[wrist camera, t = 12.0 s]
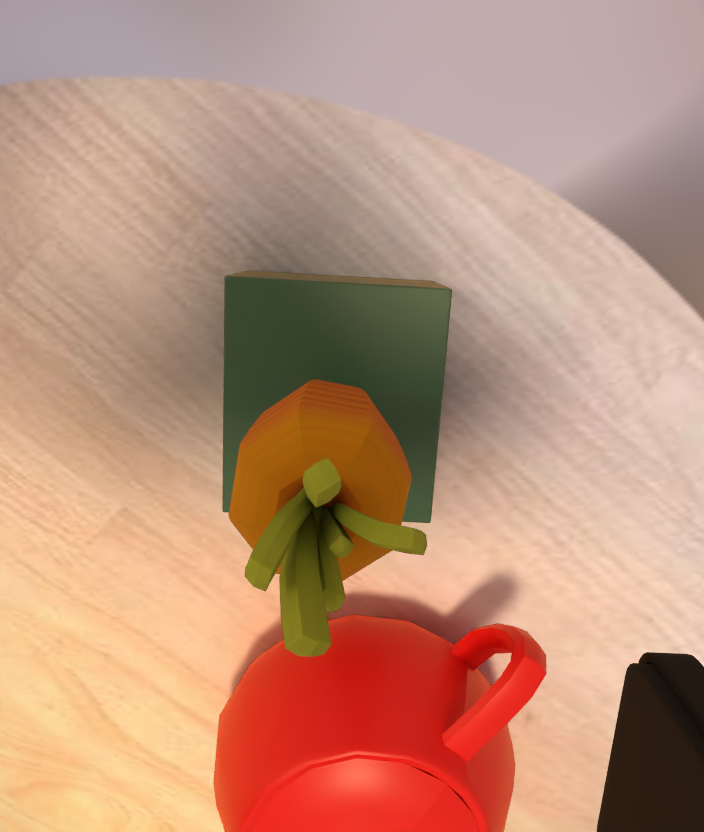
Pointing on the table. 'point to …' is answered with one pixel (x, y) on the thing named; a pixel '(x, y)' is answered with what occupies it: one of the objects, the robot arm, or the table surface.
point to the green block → (338, 357)
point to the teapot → (375, 732)
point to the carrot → (319, 502)
